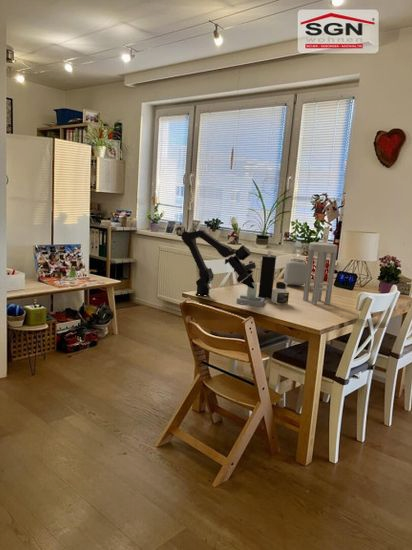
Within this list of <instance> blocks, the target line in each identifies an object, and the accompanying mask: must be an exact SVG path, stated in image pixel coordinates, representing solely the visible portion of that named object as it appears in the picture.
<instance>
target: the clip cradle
mask: <svg viewBox="0 0 412 550" xmlns="http://www.w3.org/2000/svg"><path fill="white" fill-rule="evenodd" d="M265 301H266V298H263V297H258V296H256V299H255V300H249V299H247V295H243V294H240V296H239V297H238V298H236V304H240V303H242V304H241V305H247V304H249V306H254V305H255V306H256V307H261V306H262V307H263V306H264V304H265V303H266V302H265ZM264 302H265V303H264Z"/></svg>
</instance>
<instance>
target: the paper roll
mask: <svg viewBox="0 0 412 550" xmlns="http://www.w3.org/2000/svg"><path fill="white" fill-rule="evenodd" d="M254 282H255V281H254ZM254 282H252V284H253V286H254V289H252V288H251V287H249V286H247V291H246V296H247V299H249V300H255V299H256V297H257V289H258V282H255V283H254Z"/></svg>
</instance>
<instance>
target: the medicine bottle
mask: <svg viewBox="0 0 412 550" xmlns="http://www.w3.org/2000/svg"><path fill="white" fill-rule="evenodd" d="M287 286H288V284H287V283H285V282H284V281H277V282H276V284H275V288H274V289H273V291H272V298H271V302H272V303H274V304H275V303H276V305H288V304H289V297H290V292H289V291H287Z"/></svg>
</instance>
